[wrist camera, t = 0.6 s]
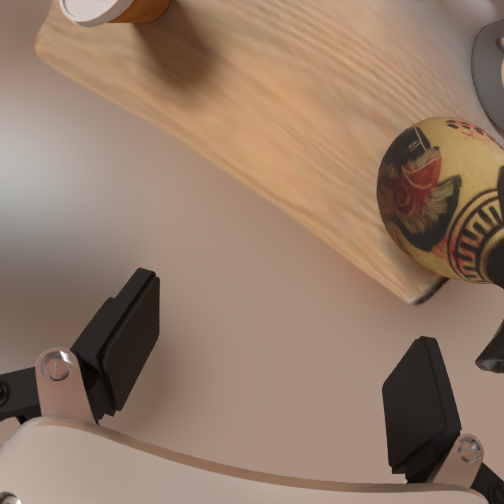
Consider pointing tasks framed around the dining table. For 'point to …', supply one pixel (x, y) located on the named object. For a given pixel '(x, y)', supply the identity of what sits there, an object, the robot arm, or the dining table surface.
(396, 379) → the robot arm
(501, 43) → the steel pins
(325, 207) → the dining table surface
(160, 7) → the disposable coffee cup
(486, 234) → the ceramic jug
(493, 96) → the pin plate
